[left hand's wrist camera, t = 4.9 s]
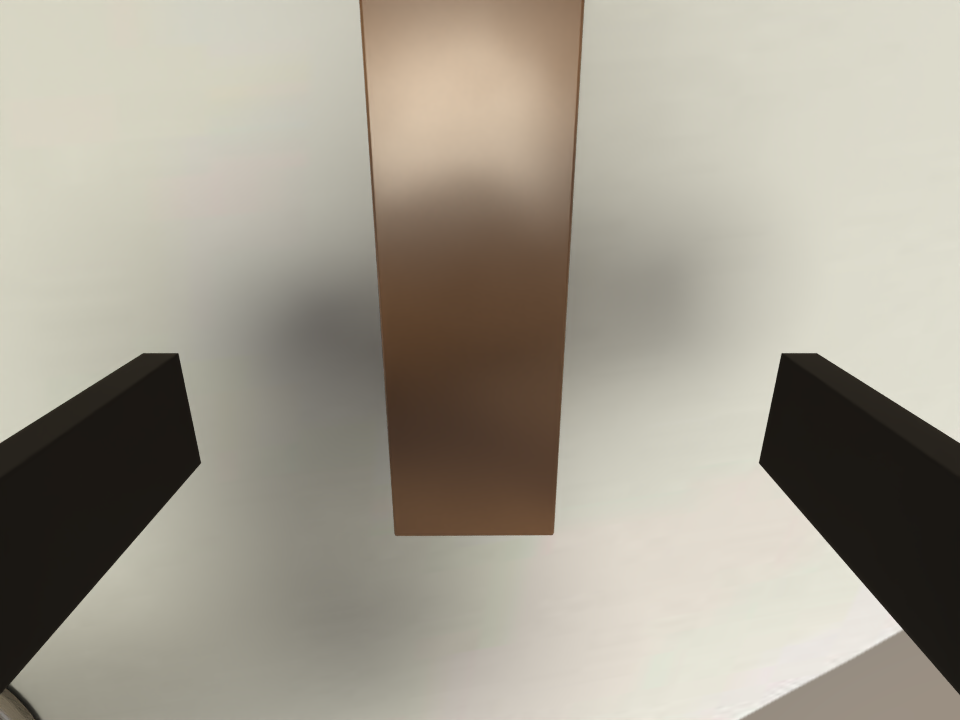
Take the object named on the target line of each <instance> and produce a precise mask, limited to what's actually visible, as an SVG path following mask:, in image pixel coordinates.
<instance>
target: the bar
mask: <svg viewBox="0 0 960 720" xmlns="http://www.w3.org/2000/svg"><path fill="white" fill-rule="evenodd" d="M359 4H360V19H361V34H362V49H363V65H364V80H365V95H366V110H367V125H368V140H369V155H370V170H371V185H372V200H373V216H374V231H375V246H376V261H377V276H378V291H379V306H380V321H381V336H382V352H383V367H384V382H385V397H386V412H387V427H388V442H389V457H390V472H391V488H392V503H393V518H394V533H395V535H396V536H472V535H553V533H554V522H555V505H556V487H557V470H558V453H559V435H560V418H561V400H562V383H563V366H564V348H565V331H566V313H567V296H568V279H569V261H570V244H571V226H572V209H573V192H574V174H575V157H576V139H577V122H578V104H579V87H580V70H581V52H582V35H583V17H584V0H359Z"/></svg>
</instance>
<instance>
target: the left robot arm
mask: <svg viewBox="0 0 960 720" xmlns="http://www.w3.org/2000/svg"><path fill="white" fill-rule="evenodd" d="M200 464H201V460H200V456H199V451H198V446H197V441H196V436H195V432H194V427H193V422H192V417H191V412H190V407H189V403H188V398H187V393H186V388H185V383H184V378H183V374H182V369H181V364H180V359H179V354H178V353H143V354H141V355H140V356H138V357H137V358H135V359H133V360H132V361H130V362H129V363H127V364H125V365H124V366H122V367H121V368H119V369H117V370H116V371H114V372H113V373H111V374H109V375H108V376H106V377H105V378H103V379H102V380H100V381H98V382H97V383H95V384H94V385H92V386H90V387H89V388H87V389H86V390H84V391H82V392H81V393H79V394H78V395H76V396H75V397H73V398H71V399H70V400H68V401H67V402H65V403H63V404H62V405H60V406H59V407H57V408H55V409H54V410H52V411H51V412H49V413H48V414H46V415H44V416H43V417H41V418H40V419H38V420H36V421H35V422H33V423H32V424H30V425H28V426H27V427H25V428H24V429H22V430H21V431H19V432H17V433H16V434H14V435H13V436H11V437H9V438H8V439H6V440H5V441H3V442H1V443H0V720H35V719H34V717H33V716H32V714H31V713H30V712H29V711H28V709H27V708H26V707H25V706H24V705H23V704H22V703H21V702H20V701H19V700H18V699H17V698H16V697H15V696H14V695H13V694H12V693H11V692H10V691H9V690H7V689H6V688H7V686H8V685H9V684H10V683H11V682H12V681H13V679H14V678H15V677H16V676H17V675H18V674H19V673H20V671H21V670H22V669H23V668H24V667H25V666H26V664H27V663H28V662H29V661H30V660H31V659H32V658H33V656H34V655H35V654H36V653H37V652H38V651H39V649H40V648H41V647H42V646H43V645H44V644H45V643H46V641H47V640H48V639H49V638H50V637H51V636H52V634H53V633H54V632H55V631H56V630H57V629H58V628H59V626H60V625H61V624H62V623H63V622H64V621H65V619H66V618H67V617H68V616H69V615H70V614H71V613H72V611H73V610H74V609H75V608H76V607H77V606H78V604H79V603H80V602H81V601H82V600H83V599H84V598H85V596H86V595H87V594H88V593H89V592H90V591H91V589H92V588H93V587H94V586H95V585H96V584H97V583H98V581H99V580H100V579H101V578H102V577H103V576H104V574H105V573H106V572H107V571H108V570H109V569H110V568H111V566H112V565H113V564H114V563H115V562H116V561H117V559H118V558H119V557H120V556H121V555H122V554H123V553H124V551H125V550H126V549H127V548H128V547H129V546H130V544H131V543H132V542H133V541H134V540H135V539H136V538H137V536H138V535H139V534H140V533H141V532H142V531H143V529H144V528H145V527H146V526H147V525H148V524H149V523H150V521H151V520H152V519H153V518H154V517H155V516H156V514H157V513H158V512H159V511H160V510H161V509H162V508H163V506H164V505H165V504H166V503H167V502H168V501H169V499H170V498H171V497H172V496H173V495H174V494H175V493H176V491H177V490H178V489H179V488H180V487H181V486H182V484H183V483H184V482H185V481H186V480H187V479H188V478H189V476H190V475H191V474H192V473H193V472H194V471H195V469H196V468H197V467H198V466H199V465H200ZM759 464H760V465H761V466H762V467H763V468H764V469H765V471H766V472H767V473H768V474H769V475H770V476H771V478H772V479H773V480H774V481H775V482H776V483H777V484H778V486H779V487H780V488H781V489H782V490H783V491H784V493H785V494H786V495H787V496H788V497H789V498H790V499H791V501H792V502H793V503H794V504H795V505H796V506H797V508H798V509H799V510H800V511H801V512H802V513H803V514H804V516H805V517H806V518H807V519H808V520H809V521H810V523H811V524H812V525H813V526H814V527H815V528H816V529H817V531H818V532H819V533H820V534H821V535H822V536H823V538H824V539H825V540H826V541H827V542H828V543H829V544H830V546H831V547H832V548H833V549H834V550H835V551H836V553H837V554H838V555H839V556H840V557H841V558H842V559H843V561H844V562H845V563H846V564H847V565H848V566H849V568H850V569H851V570H852V571H853V572H854V573H855V574H856V576H857V577H858V578H859V579H860V580H861V581H862V583H863V584H864V585H865V586H866V587H867V588H868V589H869V591H870V592H871V593H872V594H873V595H874V596H875V598H876V599H877V600H878V601H879V602H880V603H881V604H882V606H883V607H884V608H885V609H886V610H887V611H888V613H889V614H890V615H891V616H892V617H893V618H894V619H895V621H896V622H897V623H898V624H899V625H900V626H901V628H902V629H903V630H904V631H905V632H906V633H907V634H908V636H909V637H910V638H911V639H912V640H913V641H914V643H915V644H916V645H917V646H918V647H919V648H920V649H921V651H922V652H923V653H924V654H925V655H926V656H927V657H928V659H929V660H930V661H931V662H932V663H933V664H934V666H935V667H936V668H937V669H938V670H939V671H940V673H941V674H942V675H943V676H944V677H945V678H946V679H947V681H948V682H949V683H950V684H951V685H952V686H953V688H954V689H955V690H956V691H957V692H958V693H959V694H960V443H959V442H957V441H955V440H954V439H952V438H951V437H949V436H947V435H946V434H944V433H943V432H941V431H939V430H938V429H936V428H935V427H933V426H932V425H930V424H928V423H927V422H925V421H924V420H922V419H920V418H919V417H917V416H916V415H914V414H912V413H911V412H909V411H908V410H906V409H905V408H903V407H901V406H900V405H898V404H897V403H895V402H893V401H892V400H890V399H889V398H887V397H885V396H884V395H882V394H881V393H879V392H878V391H876V390H874V389H873V388H871V387H870V386H868V385H866V384H865V383H863V382H862V381H860V380H858V379H857V378H855V377H854V376H852V375H851V374H849V373H847V372H846V371H844V370H843V369H841V368H839V367H838V366H836V365H835V364H833V363H831V362H830V361H828V360H827V359H825V358H823V357H822V356H820V355H819V354H817V353H782V354H781V359H780V364H779V369H778V374H777V378H776V383H775V388H774V393H773V398H772V403H771V407H770V412H769V417H768V422H767V427H766V432H765V436H764V441H763V446H762V451H761V456H760V460H759Z"/></svg>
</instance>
